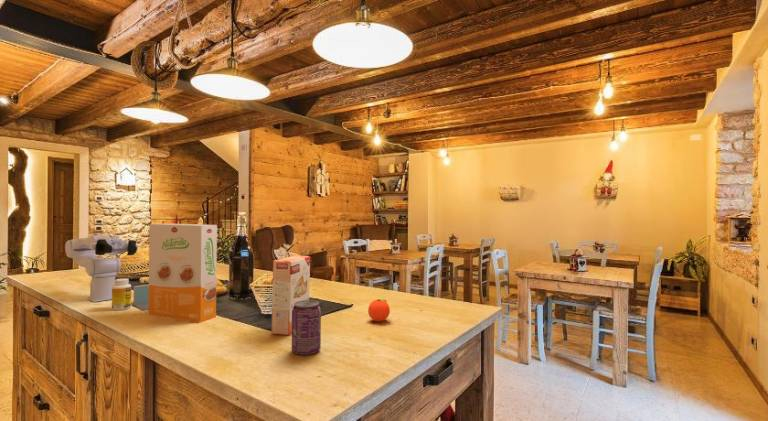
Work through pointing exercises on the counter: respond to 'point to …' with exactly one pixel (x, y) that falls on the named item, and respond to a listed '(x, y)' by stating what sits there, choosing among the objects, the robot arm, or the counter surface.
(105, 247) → the robot arm
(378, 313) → the clementine
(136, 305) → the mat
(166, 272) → the cereal box
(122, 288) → the supplement bottle
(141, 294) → the tile
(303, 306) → the beverage can
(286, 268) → the cracker box
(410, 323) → the counter surface
